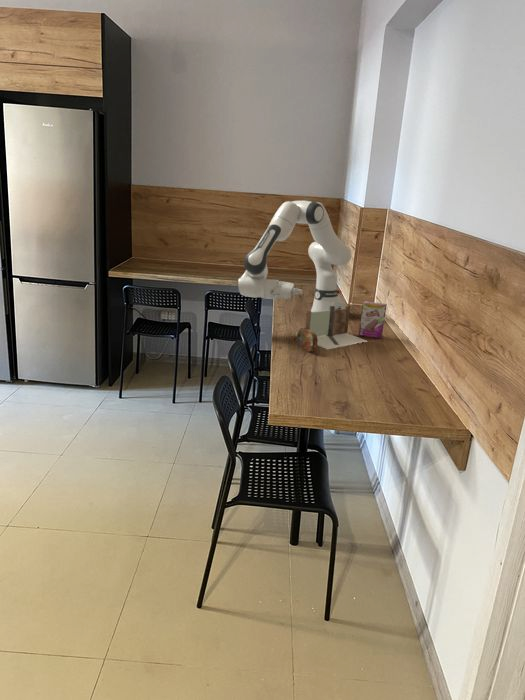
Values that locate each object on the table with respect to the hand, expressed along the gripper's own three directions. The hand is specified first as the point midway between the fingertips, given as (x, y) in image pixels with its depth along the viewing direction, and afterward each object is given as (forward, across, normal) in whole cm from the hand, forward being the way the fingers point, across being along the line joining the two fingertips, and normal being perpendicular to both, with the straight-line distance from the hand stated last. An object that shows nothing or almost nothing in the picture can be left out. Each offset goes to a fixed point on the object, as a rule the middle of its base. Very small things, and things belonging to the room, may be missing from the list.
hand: (302, 292), depth 242 cm
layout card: (+16, +1, +21) cm, 27 cm away
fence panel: (+8, 0, +20) cm, 22 cm away
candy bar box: (+34, +13, +22) cm, 42 cm away
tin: (+5, -17, +22) cm, 28 cm away
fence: (+18, +10, +21) cm, 29 cm away
